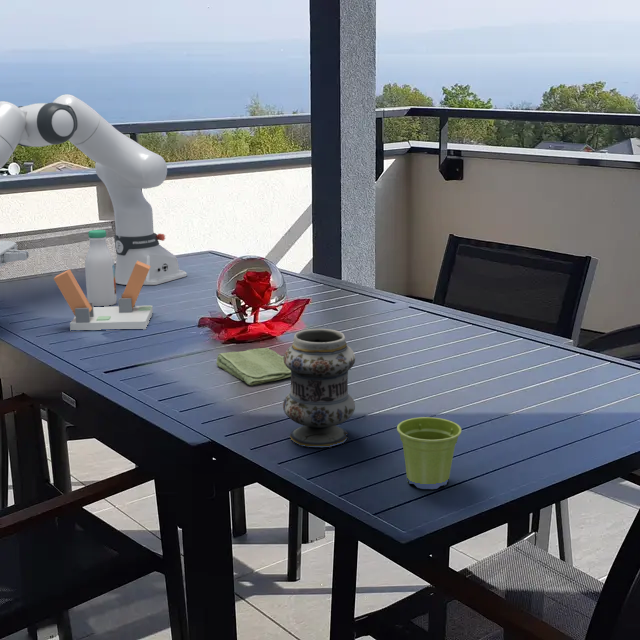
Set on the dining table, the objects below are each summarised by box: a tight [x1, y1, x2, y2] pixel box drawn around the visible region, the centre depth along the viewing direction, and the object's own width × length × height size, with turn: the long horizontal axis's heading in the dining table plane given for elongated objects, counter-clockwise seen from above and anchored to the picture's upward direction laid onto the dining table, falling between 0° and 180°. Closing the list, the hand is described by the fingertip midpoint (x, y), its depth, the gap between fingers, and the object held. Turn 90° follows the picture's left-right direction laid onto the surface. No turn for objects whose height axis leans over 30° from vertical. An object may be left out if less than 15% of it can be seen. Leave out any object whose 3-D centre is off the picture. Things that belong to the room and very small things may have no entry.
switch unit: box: [69, 292, 154, 332], centre depth 226 cm, size 16×18×6 cm
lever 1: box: [53, 268, 92, 316], centre depth 220 cm, size 4×4×12 cm
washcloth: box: [215, 347, 291, 387], centre depth 188 cm, size 13×18×3 cm
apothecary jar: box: [282, 328, 356, 446], centre depth 151 cm, size 12×12×18 cm
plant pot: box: [396, 416, 462, 484], centre depth 135 cm, size 9×9×9 cm
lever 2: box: [121, 261, 151, 308], centre depth 230 cm, size 4×4×12 cm
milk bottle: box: [84, 229, 118, 307], centre depth 243 cm, size 8×8×20 cm
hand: (27, 255), depth 217 cm, fingers closed
